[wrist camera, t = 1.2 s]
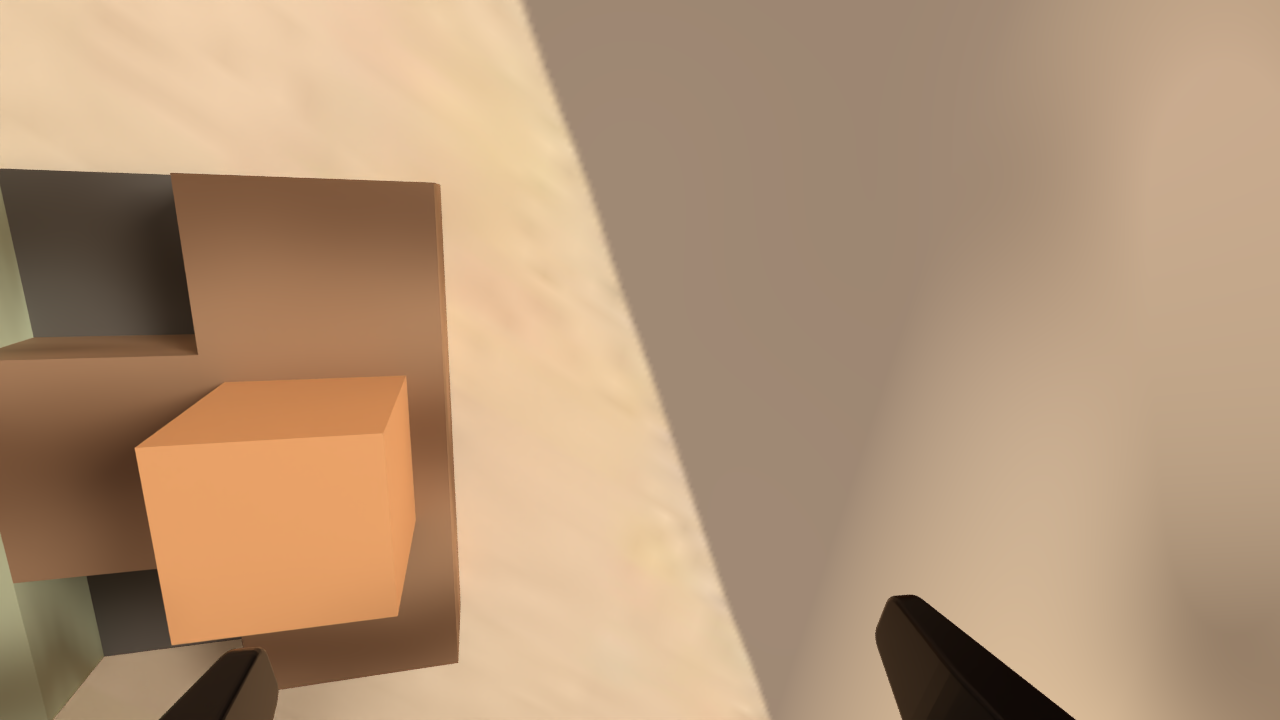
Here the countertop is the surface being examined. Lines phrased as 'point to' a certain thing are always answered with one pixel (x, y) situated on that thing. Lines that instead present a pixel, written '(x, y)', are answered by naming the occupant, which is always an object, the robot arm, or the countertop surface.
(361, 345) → the trap board
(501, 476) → the countertop surface
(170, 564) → the block
